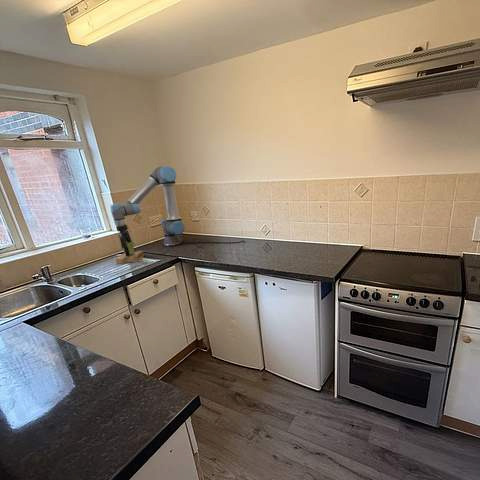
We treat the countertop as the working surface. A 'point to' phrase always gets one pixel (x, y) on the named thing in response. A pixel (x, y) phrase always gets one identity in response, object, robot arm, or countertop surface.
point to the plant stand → (130, 257)
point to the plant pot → (130, 247)
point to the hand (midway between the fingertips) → (130, 254)
